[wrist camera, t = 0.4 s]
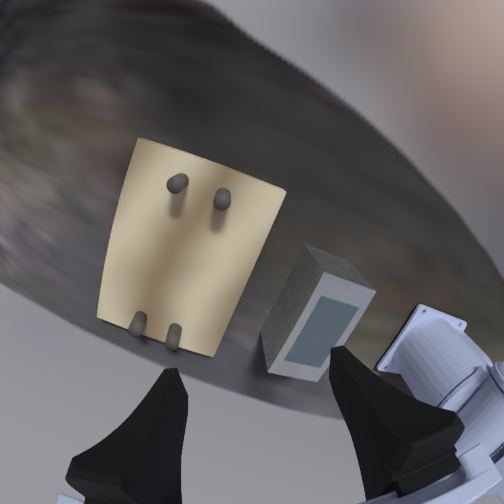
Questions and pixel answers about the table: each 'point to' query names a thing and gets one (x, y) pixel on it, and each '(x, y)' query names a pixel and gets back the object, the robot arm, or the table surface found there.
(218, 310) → the tan flat board
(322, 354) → the block
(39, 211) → the table surface
